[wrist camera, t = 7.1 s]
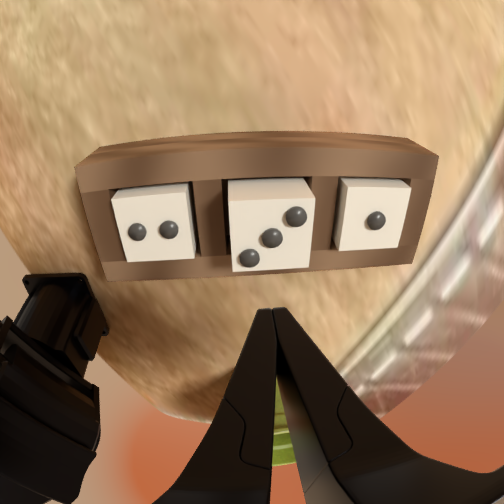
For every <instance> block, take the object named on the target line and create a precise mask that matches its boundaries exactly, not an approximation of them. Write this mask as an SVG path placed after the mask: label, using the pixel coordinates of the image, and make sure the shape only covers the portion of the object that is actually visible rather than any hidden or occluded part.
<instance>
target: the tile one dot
mask: <svg viewBox="0 0 504 504" xmlns="http://www.w3.org/2000/svg"><path fill="white" fill-rule="evenodd" d="M410 193H411V187H409V186H408V185H407V184H406V183H405V182H403V181H402V180H401V179H400V178H388V177H355V176H339V177H338V187H337V196H336V204H335V213H334V221H333V228H332V236H331V237H332V239H333V241H334V243H335V245H336V247H337V249H338V251H349V250H366V249H383V248H397V247H398V244H399V240H400V236H401V232H402V228H403V224H404V220H405V216H406V211H407V207H408V202H409V198H410Z"/></svg>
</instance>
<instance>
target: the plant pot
mask: <svg viewBox="0 0 504 504" xmlns="http://www.w3.org/2000/svg"><path fill="white" fill-rule="evenodd" d="M291 463H296V459H295V455H294V450H293V446H292V442H291V438H290V433H289V429H288V425H287V421H286V416H285V412H284V408H283V404H282V399H281V395H280V391H279V387H278V382H277V377H276V397H275V420H274V440H273V458H272V466H278V465H285V464H291Z"/></svg>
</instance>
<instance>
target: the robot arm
mask: <svg viewBox="0 0 504 504" xmlns="http://www.w3.org/2000/svg"><path fill="white" fill-rule="evenodd" d="M80 279H81V280H82V281H81V280H80ZM22 281H23V283H24V286H25V288H26V290H27V292H28V294H29V296H28V298H27V299H26V301H25V303H24V304H23V306H22V308H21V310H20V312H19V313H18V315H17V317H16V319H15V320H14V322H13V320H12V319H10V318H9V317H8V316H6V317H5V318H4V319H3V320H2V321H1V320H0V504H45V503H47V502H49V501H51V500H55V501H57V502H60V503H63V504H71V503H72V502H73V501H74V500H75V499H76V498H77V497H78V495H79V492H80V488H81V484H82V481H83V478H84V475H85V473H86V471H87V469H88V467H89V465H90V464H91V462H92V461H93V460H94V458H95V457H96V452H95V451H96V449H97V447H98V444H99V441H100V433H101V432H100V431H101V429H100V405H99V387H97V386H96V385H94V384H91V383H89V382H88V381H86V380H85V379H83V378H84V374H85V371H86V368H87V364H88V361H92V360H93V359H94V358H95V354H96V351H97V348H98V345H99V342H100V339H101V336H107V335H108V333H109V327H108V325H107V323H106V320H105V317H104V315H103V313H102V311H101V308H100V306H99V304H98V301H97V299H96V298H95V296H94V294H93V291H92V289H91V286H90V284H89V282H88V279H87V277H86V276H85V275H84V274H82V273H62V274H33V275H25V276H24V278H23V279H22ZM276 377H277V382H278V387H279V391H280V395H281V399H282V404H283V408H284V412H285V416H286V421H287V425H288V429H289V433H290V438H291V442H292V446H293V450H294V455H295V459H296V463H297V467H298V471H299V475H300V479H301V484H302V488H303V492H304V496H305V500H306V504H504V465H503V466H501V467H500V468H498V469H496V470H495V471H493V472H490V473H477V472H472V471H468V470H465V469H462V468H458V467H455V466H452V465H449V464H446V463H442V462H440V461H437V460H434V459H431V458H428V457H426V456H423V455H421V454H419V453H417V452H416V451H414V450H413V449H411V448H410V447H409V446H408V445H406V444H405V443H404V442H403V441H402V440H401V439H400V438H399V437H398V436H397V435H396V434H395V433H393V432H392V431H391V430H390V429H389V428H388V427H387V426H386V425H385V424H384V423H383V422H382V421H380V419H379V418H378V417H377V416H376V415H375V414H374V413H373V412H372V411H371V410H370V409H369V408H368V407H367V406H366V405H365V404H364V403H363V402H362V401H361V400H360V398H359V397H358V396H357V395H356V394H355V392H354V391H353V390H352V389H351V387H350V386H347V385H348V384H347V383H346V381H345V380H344V379H343V378H342V377H341V375H340V374H339V373H338V372H337V370H336V369H335V368H334V367H333V365H332V364H331V363H330V362H329V360H328V359H327V358H326V357H325V355H324V354H323V353H322V352H321V350H320V349H319V348H318V347H317V346H316V344H315V343H314V342H313V341H312V339H311V338H310V337H309V336H308V334H307V333H306V332H305V331H304V329H303V328H302V327H301V326H300V324H299V323H298V322H297V321H296V319H295V318H294V317H293V316H292V314H291V313H290V312H289V311H288V309H287V308H285V307H278V308H273V309H270V308H264V309H258V310H257V312H256V315H255V318H254V320H253V323H252V325H251V328H250V331H249V333H248V336H247V338H246V341H245V343H244V346H243V348H242V351H241V354H240V356H239V359H238V361H237V364H236V366H235V369H234V371H233V374H232V376H231V379H230V381H229V384H228V386H227V389H226V391H225V394H224V396H223V399H222V401H221V403H220V405H219V408H218V410H217V412H216V415H215V417H214V419H213V421H212V423H211V425H210V427H209V429H208V431H207V433H206V434H205V436H204V438H203V440H202V442H201V443H200V445H199V446H198V448H197V449H196V451H195V453H194V454H193V456H192V458H191V459H190V461H189V462H188V464H187V465H186V467H185V469H184V470H183V472H182V473H181V475H180V476H179V477H178V479H177V480H176V481H175V483H174V484H173V485H172V486H171V487H170V488H169V489H168V490H167V491H166V492H165V493H164V494H163V495H162V496H160V497H159V498H158V499H157V500H156V501H154V502H153V503H152V504H270V492H271V475H272V458H273V440H274V420H275V397H276Z"/></svg>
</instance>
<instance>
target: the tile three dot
mask: <svg viewBox="0 0 504 504" xmlns="http://www.w3.org/2000/svg"><path fill="white" fill-rule="evenodd" d="M228 206H229V222H230V239H231V254H232V269H233V272H242V271H259V270H276V269H292V268H308V267H309V260H310V251H311V241H312V231H313V221H314V210H315V196H314V195H313V193H312V192H311V190H310V188H309V187H308V185H307V183H306V182H305V180H304V178H266V179H241V180H228Z"/></svg>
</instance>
